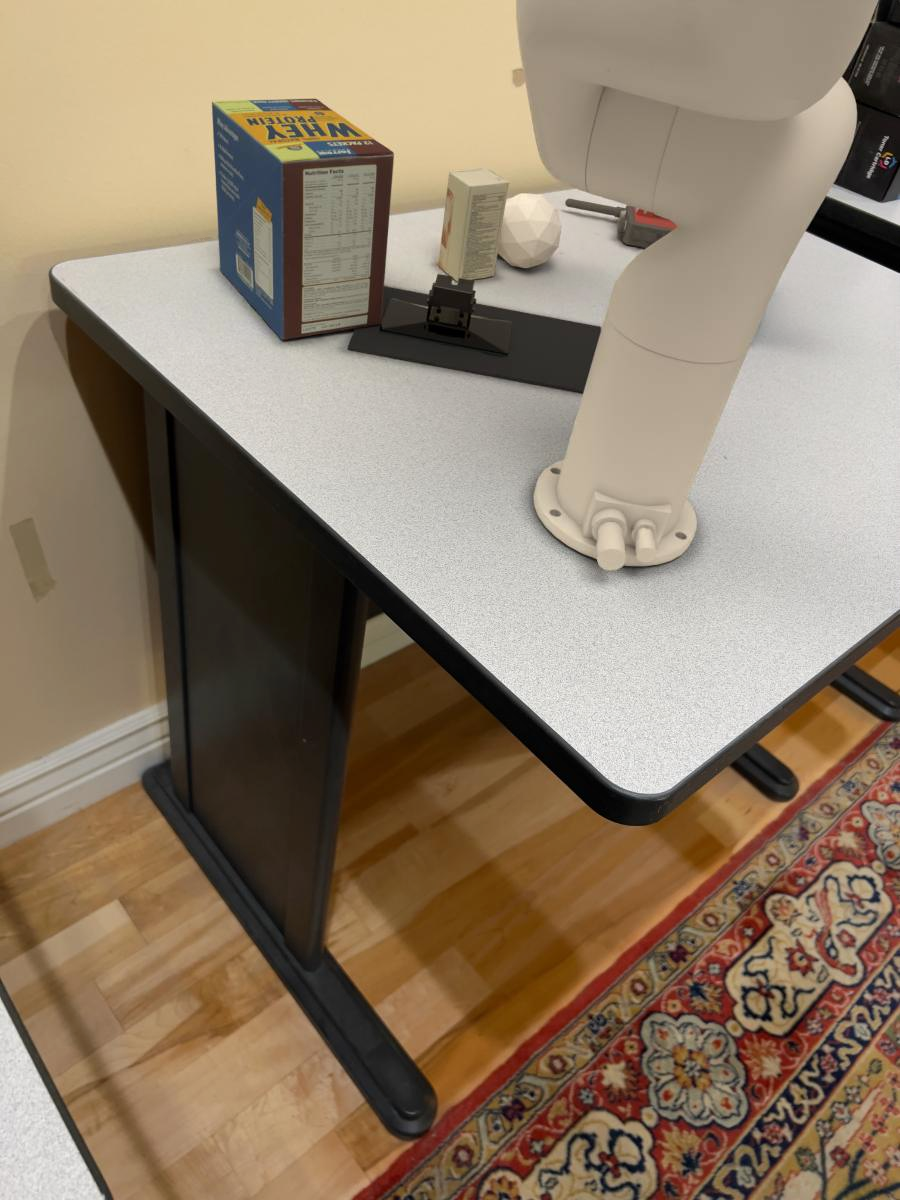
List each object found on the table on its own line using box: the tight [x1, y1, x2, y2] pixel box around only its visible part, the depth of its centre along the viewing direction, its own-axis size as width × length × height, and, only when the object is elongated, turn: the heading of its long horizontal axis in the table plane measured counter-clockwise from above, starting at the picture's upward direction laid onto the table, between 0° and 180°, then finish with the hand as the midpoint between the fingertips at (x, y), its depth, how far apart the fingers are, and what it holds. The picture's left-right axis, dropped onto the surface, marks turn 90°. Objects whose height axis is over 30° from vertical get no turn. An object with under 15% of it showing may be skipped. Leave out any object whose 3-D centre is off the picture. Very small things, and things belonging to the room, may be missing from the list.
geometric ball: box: [497, 192, 562, 269], centre depth 99 cm, size 8×8×8 cm
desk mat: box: [347, 285, 602, 394], centre depth 86 cm, size 14×24×1 cm, turn 85°
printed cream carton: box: [437, 167, 510, 282], centre depth 94 cm, size 5×4×10 cm
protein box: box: [211, 98, 395, 340], centre depth 81 cm, size 10×15×16 cm
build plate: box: [379, 273, 512, 357], centre depth 85 cm, size 12×7×5 cm, turn 84°
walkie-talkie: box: [564, 198, 677, 249], centre depth 112 cm, size 9×4×20 cm
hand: (798, 68), depth 68 cm, fingers closed
